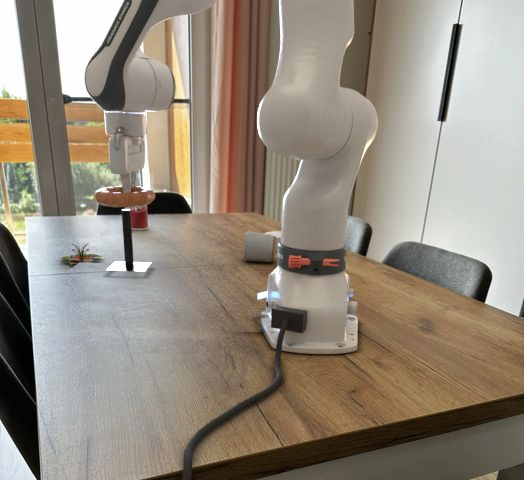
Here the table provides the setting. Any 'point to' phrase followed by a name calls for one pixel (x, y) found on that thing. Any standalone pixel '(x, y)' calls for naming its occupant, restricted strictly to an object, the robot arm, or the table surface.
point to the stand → (128, 249)
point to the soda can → (139, 217)
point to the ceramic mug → (260, 247)
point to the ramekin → (278, 236)
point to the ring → (124, 196)
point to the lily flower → (81, 256)
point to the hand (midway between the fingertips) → (129, 192)
